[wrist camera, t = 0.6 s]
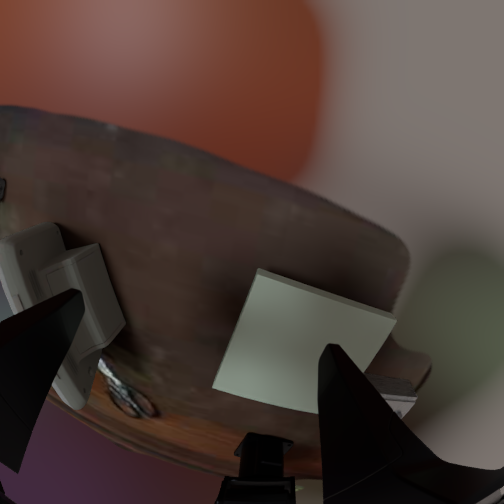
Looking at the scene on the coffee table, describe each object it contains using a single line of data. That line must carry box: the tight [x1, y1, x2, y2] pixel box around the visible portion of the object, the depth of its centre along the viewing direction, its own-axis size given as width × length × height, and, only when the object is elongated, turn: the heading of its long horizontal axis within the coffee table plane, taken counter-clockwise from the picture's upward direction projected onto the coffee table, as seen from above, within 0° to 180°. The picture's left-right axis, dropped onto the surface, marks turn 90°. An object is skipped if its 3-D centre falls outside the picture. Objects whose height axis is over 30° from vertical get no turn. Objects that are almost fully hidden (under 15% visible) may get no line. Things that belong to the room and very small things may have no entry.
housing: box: [363, 373, 418, 419], centre depth 26 cm, size 5×8×4 cm, turn 72°
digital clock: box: [0, 222, 126, 410], centre depth 21 cm, size 16×9×11 cm, turn 179°
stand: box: [212, 268, 397, 414], centre depth 23 cm, size 12×12×4 cm
